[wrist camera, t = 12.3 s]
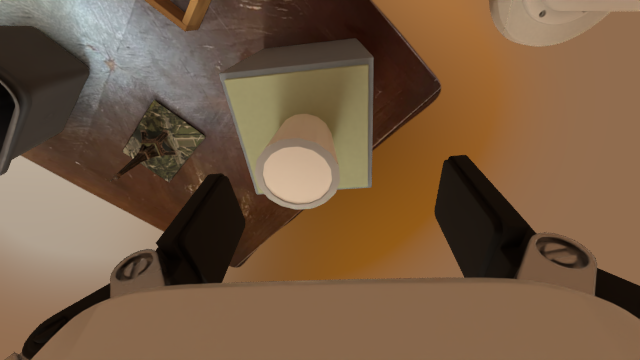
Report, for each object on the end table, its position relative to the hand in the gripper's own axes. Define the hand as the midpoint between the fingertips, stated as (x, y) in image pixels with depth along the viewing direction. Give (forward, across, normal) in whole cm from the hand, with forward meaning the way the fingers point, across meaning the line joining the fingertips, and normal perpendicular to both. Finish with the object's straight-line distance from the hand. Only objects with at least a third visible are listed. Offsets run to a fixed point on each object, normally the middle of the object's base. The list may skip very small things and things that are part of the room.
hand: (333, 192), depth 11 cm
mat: (+15, +3, +4) cm, 16 cm away
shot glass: (+15, +3, +4) cm, 16 cm away
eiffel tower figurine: (+33, +34, +11) cm, 48 cm away
